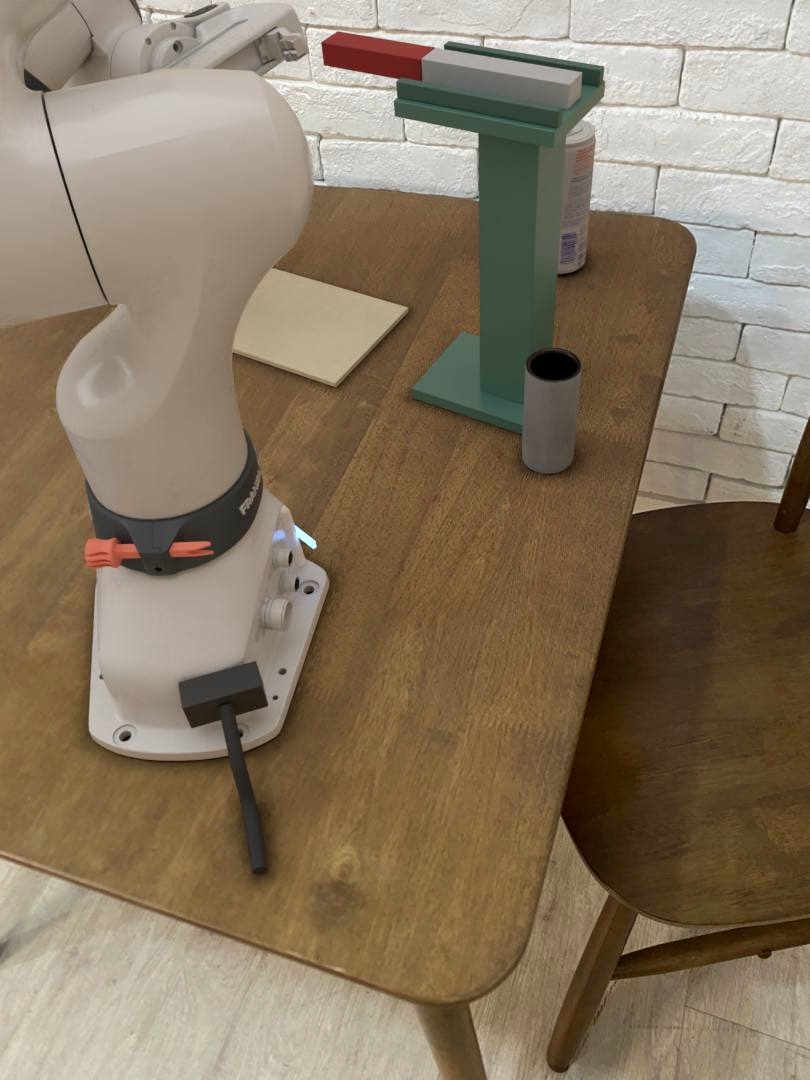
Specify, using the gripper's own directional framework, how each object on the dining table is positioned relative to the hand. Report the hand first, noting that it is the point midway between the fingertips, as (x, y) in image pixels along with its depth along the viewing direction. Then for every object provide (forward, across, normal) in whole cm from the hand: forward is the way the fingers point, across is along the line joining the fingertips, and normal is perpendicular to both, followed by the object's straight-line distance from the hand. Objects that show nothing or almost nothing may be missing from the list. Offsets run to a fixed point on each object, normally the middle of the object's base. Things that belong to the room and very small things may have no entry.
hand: (264, 72), depth 79 cm
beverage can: (+8, +22, +31) cm, 39 cm away
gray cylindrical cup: (+24, -5, +32) cm, 41 cm away
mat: (-10, -3, +24) cm, 26 cm away
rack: (+15, +1, +31) cm, 34 cm away
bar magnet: (+17, +3, +2) cm, 17 cm away
